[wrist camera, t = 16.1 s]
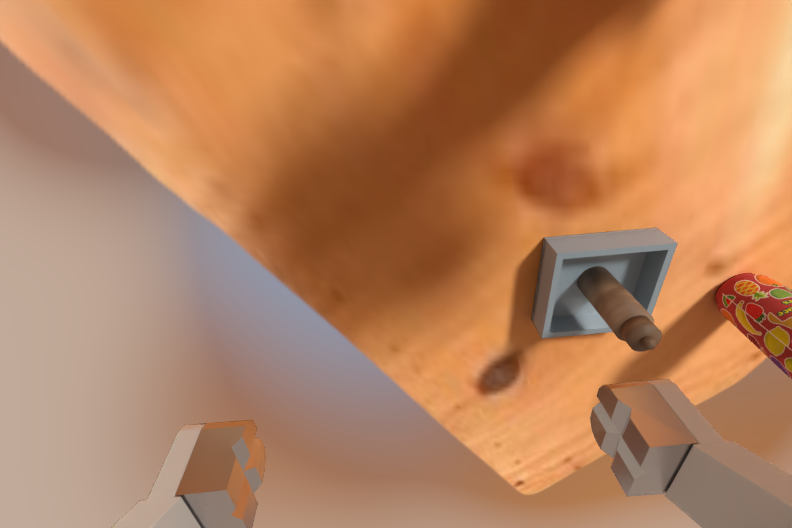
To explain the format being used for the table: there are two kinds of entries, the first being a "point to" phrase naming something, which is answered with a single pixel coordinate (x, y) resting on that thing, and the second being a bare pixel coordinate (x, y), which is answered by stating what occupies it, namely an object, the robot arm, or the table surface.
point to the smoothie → (760, 314)
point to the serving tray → (573, 254)
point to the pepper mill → (619, 309)
